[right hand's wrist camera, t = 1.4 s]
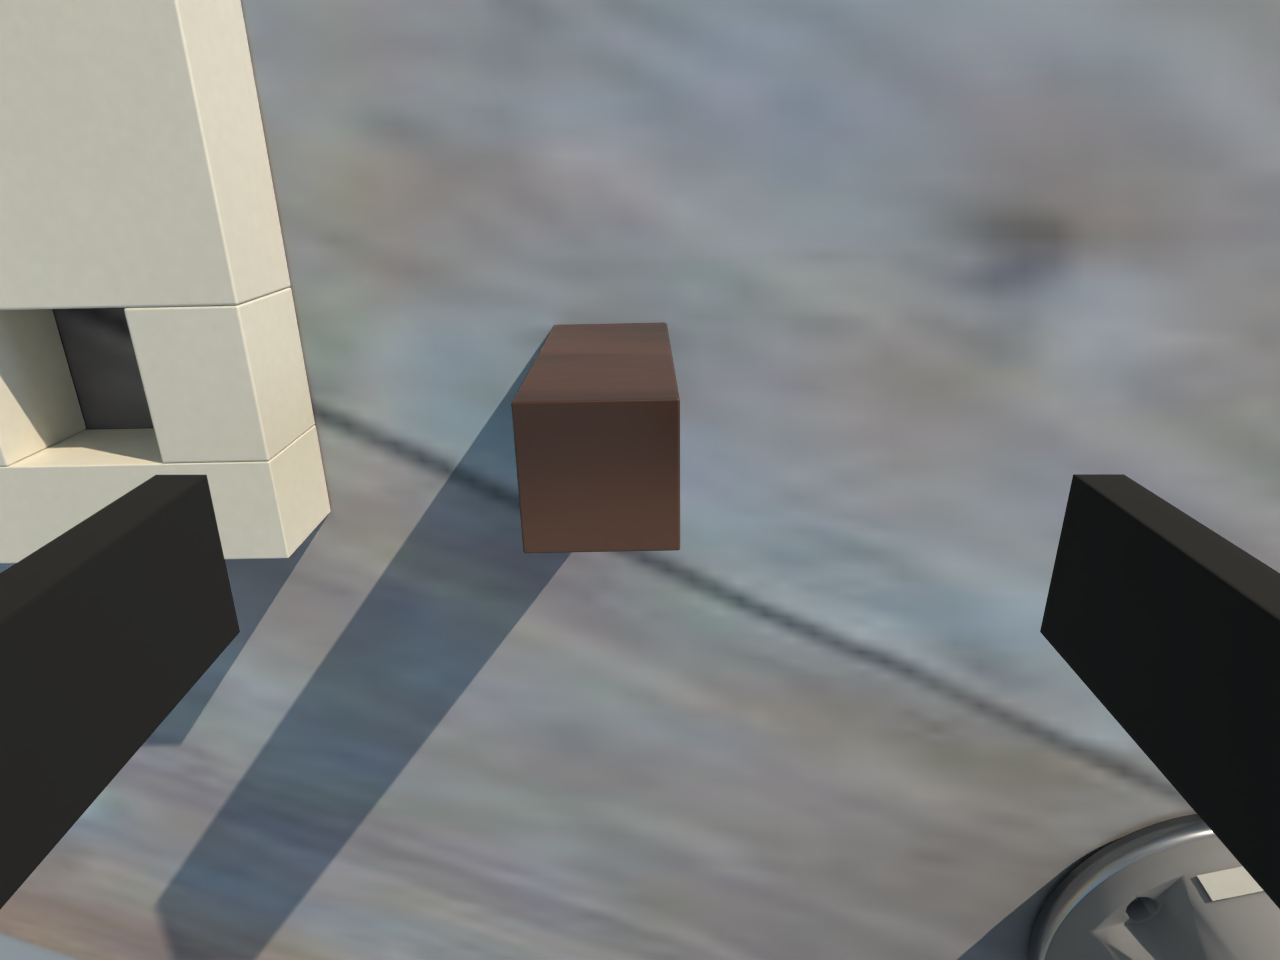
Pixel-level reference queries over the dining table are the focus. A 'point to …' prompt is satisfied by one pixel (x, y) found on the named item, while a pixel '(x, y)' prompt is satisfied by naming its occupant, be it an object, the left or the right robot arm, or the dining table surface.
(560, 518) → the peg
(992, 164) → the dining table surface
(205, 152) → the peg board
